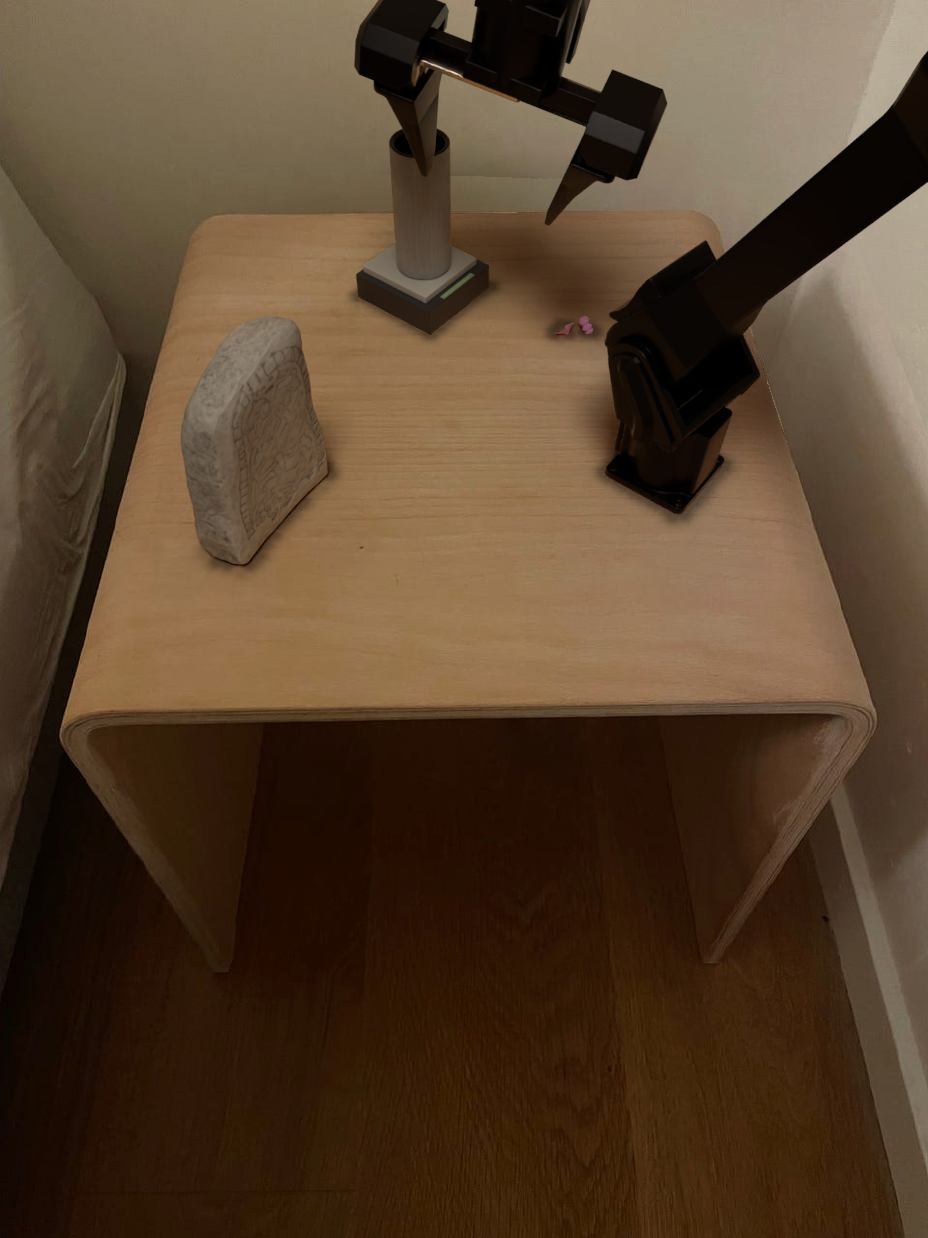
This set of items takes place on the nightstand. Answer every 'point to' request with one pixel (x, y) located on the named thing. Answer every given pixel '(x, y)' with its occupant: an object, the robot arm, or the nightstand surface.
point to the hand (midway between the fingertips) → (487, 196)
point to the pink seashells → (583, 322)
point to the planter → (421, 209)
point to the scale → (422, 288)
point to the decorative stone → (251, 438)
